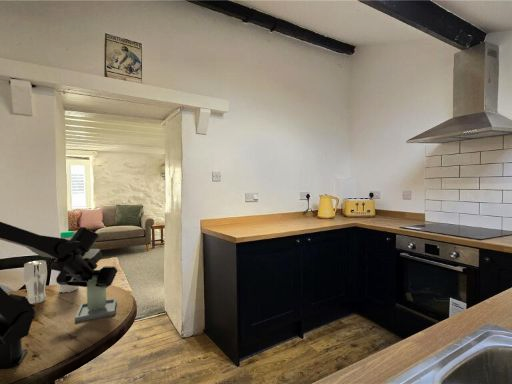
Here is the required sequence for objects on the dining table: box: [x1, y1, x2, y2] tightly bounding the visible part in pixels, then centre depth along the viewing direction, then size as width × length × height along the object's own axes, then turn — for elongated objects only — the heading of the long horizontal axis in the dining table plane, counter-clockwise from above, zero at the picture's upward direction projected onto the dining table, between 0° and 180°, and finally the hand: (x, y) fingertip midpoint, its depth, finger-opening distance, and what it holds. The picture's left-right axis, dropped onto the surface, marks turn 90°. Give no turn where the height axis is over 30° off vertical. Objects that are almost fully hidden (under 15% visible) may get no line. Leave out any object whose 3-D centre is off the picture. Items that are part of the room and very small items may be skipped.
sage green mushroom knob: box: [86, 278, 107, 310], centre depth 97 cm, size 7×7×12 cm
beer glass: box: [23, 259, 48, 305], centre depth 106 cm, size 7×7×15 cm
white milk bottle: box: [57, 230, 80, 294], centre depth 117 cm, size 7×7×25 cm
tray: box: [74, 297, 117, 323], centre depth 97 cm, size 11×11×2 cm
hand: (99, 286), depth 98 cm, fingers closed on sage green mushroom knob, 6 cm apart
